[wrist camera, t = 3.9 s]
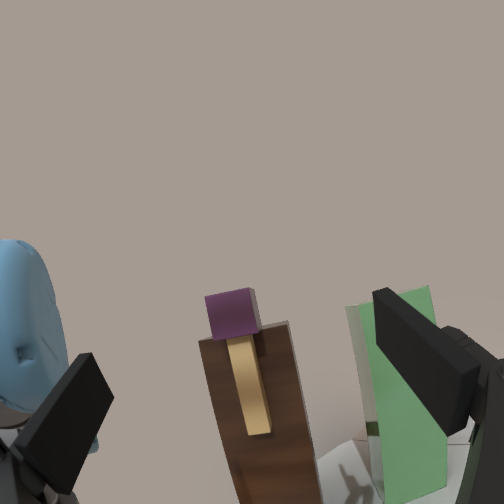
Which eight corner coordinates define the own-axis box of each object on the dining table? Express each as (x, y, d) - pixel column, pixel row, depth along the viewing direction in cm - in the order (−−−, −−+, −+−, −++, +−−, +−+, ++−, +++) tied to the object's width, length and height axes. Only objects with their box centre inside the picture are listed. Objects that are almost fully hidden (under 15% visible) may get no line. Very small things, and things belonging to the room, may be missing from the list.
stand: (262, 513, 37) (218, 334, 44) (323, 504, 36) (288, 320, 43) (255, 549, 27) (197, 340, 34) (328, 541, 27) (287, 324, 33)
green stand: (372, 479, 40) (344, 305, 46) (424, 461, 39) (403, 290, 45) (385, 509, 30) (358, 305, 36) (446, 486, 29) (428, 285, 36)
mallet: (214, 296, 35) (204, 296, 31) (254, 288, 35) (248, 287, 30) (243, 425, 32) (237, 440, 28) (281, 419, 32) (280, 434, 28)
